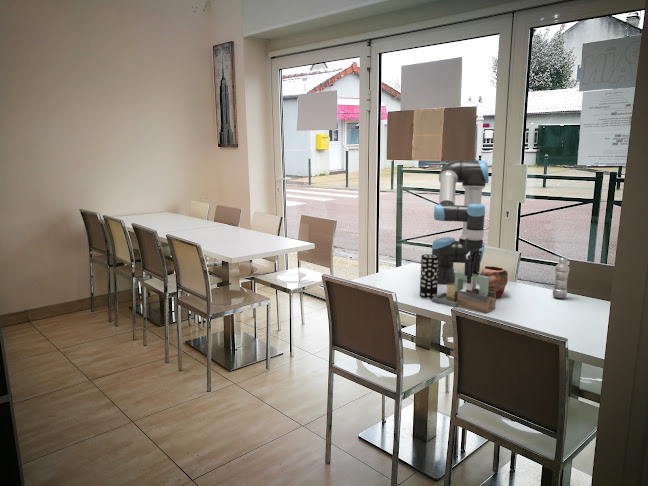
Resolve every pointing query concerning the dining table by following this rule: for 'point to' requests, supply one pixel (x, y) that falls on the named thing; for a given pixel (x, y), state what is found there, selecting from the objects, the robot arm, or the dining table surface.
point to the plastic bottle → (561, 278)
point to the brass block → (452, 296)
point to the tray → (444, 300)
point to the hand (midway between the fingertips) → (471, 288)
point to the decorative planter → (496, 279)
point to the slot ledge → (476, 300)
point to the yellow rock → (451, 288)
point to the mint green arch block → (478, 278)
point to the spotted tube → (429, 276)
